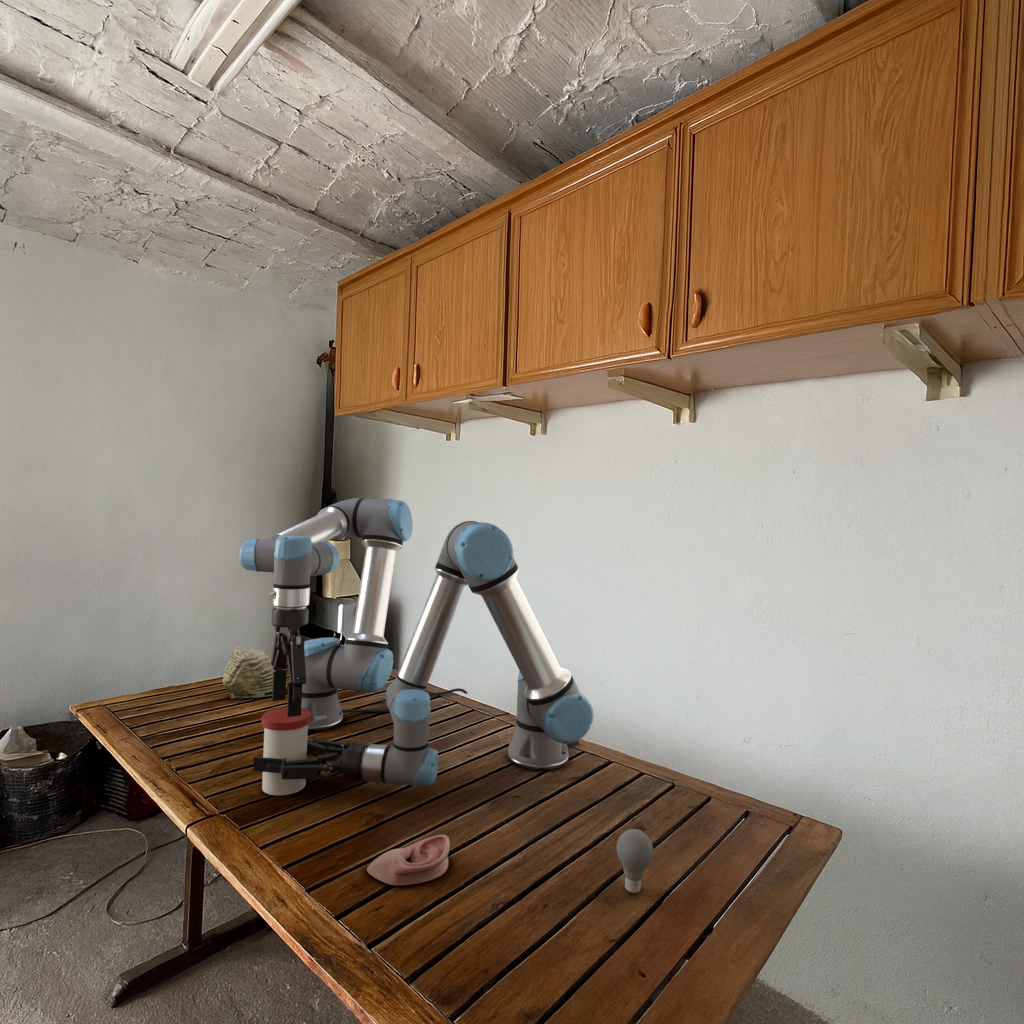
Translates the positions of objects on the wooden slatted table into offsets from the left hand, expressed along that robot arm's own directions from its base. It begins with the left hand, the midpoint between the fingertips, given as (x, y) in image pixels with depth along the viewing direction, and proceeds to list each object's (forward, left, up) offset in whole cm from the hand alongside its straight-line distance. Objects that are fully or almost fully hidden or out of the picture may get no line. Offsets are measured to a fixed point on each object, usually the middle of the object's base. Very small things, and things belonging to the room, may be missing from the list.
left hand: (286, 707), depth 137 cm
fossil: (-28, -62, -17) cm, 70 cm away
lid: (0, 0, -2) cm, 2 cm away
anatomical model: (+2, +43, -17) cm, 46 cm away
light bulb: (-19, +75, -17) cm, 79 cm away
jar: (0, 0, -17) cm, 17 cm away
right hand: (+2, -4, -11) cm, 12 cm away
